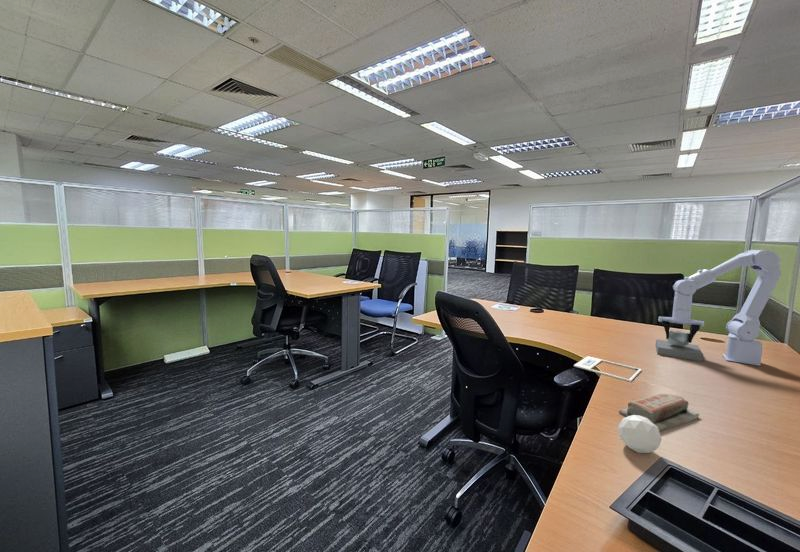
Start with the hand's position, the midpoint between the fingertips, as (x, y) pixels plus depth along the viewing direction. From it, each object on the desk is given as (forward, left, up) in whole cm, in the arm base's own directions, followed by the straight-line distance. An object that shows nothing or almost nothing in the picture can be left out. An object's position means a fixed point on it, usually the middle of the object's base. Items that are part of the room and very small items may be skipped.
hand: (678, 340), depth 138 cm
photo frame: (+23, +38, -6) cm, 45 cm away
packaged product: (+9, +69, -6) cm, 69 cm away
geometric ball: (+14, +90, -6) cm, 91 cm away
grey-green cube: (0, 0, -1) cm, 1 cm away
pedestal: (0, 0, -5) cm, 5 cm away
